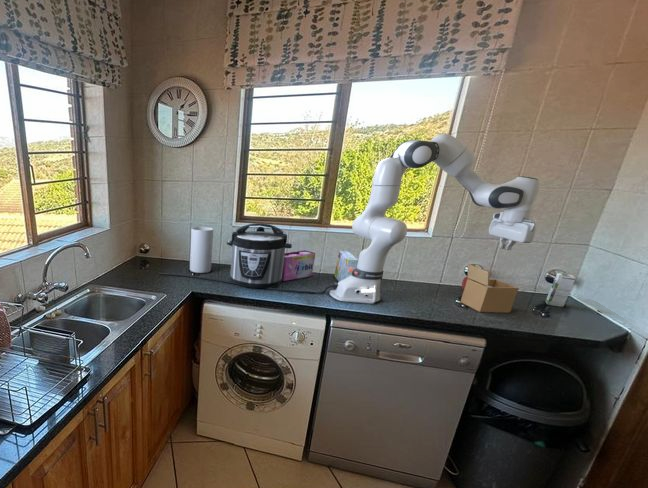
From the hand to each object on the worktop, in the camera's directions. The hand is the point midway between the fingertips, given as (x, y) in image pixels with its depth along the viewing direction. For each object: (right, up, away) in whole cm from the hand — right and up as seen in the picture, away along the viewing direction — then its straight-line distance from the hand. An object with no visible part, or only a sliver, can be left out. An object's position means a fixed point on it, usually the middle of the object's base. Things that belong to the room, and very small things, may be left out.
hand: (505, 249), depth 175 cm
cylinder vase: (-125, -3, +65) cm, 140 cm away
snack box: (-49, -11, +45) cm, 67 cm away
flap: (-8, -11, +5) cm, 14 cm away
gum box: (-73, -8, +54) cm, 91 cm away
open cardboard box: (-1, -25, +10) cm, 27 cm away
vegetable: (+8, -18, +28) cm, 35 cm away
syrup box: (+36, -24, +14) cm, 45 cm away
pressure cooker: (-98, -12, +43) cm, 107 cm away
